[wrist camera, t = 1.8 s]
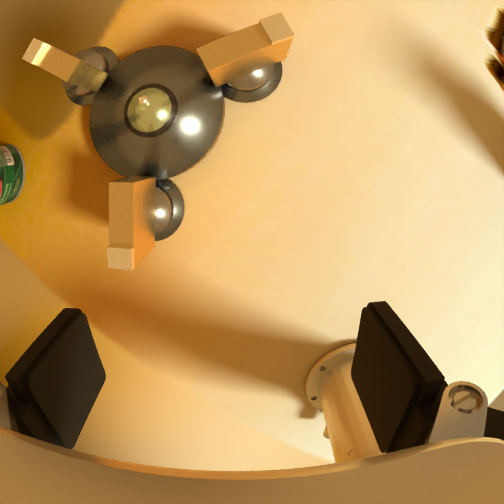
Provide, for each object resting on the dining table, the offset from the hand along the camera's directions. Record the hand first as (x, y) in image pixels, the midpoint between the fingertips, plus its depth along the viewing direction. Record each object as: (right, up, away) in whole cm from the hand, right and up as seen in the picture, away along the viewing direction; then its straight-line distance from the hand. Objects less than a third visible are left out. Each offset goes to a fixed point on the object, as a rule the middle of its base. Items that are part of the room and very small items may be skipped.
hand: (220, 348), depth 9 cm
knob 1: (-17, +23, +16) cm, 33 cm away
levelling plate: (-9, +15, +19) cm, 26 cm away
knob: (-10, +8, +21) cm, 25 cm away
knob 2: (0, +21, +17) cm, 27 cm away
